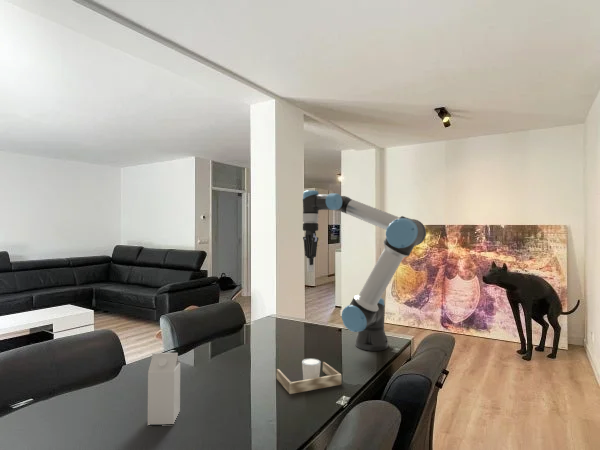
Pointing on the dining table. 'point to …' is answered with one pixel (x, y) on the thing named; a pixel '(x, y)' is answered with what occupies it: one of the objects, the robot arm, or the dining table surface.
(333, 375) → the bay
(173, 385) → the milk carton
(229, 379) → the dining table surface
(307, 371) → the white cup
